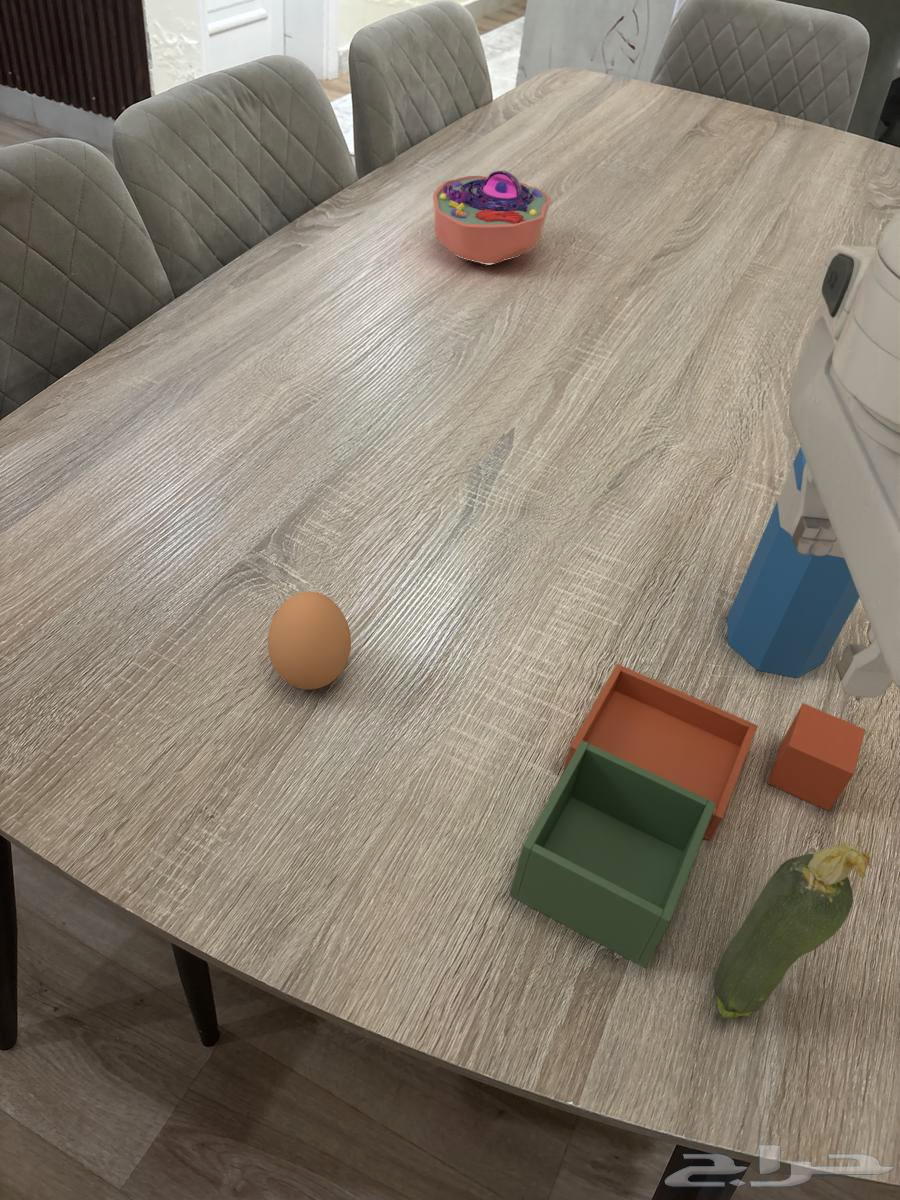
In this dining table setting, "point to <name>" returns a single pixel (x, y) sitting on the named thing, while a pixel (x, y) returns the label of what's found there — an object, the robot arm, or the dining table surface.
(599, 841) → the produce bin
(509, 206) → the cell model
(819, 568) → the water bottle
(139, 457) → the dining table surface
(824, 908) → the vegetable
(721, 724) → the terracotta tray
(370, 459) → the dining table surface
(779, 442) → the dining table surface
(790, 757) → the terracotta block
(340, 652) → the egg
